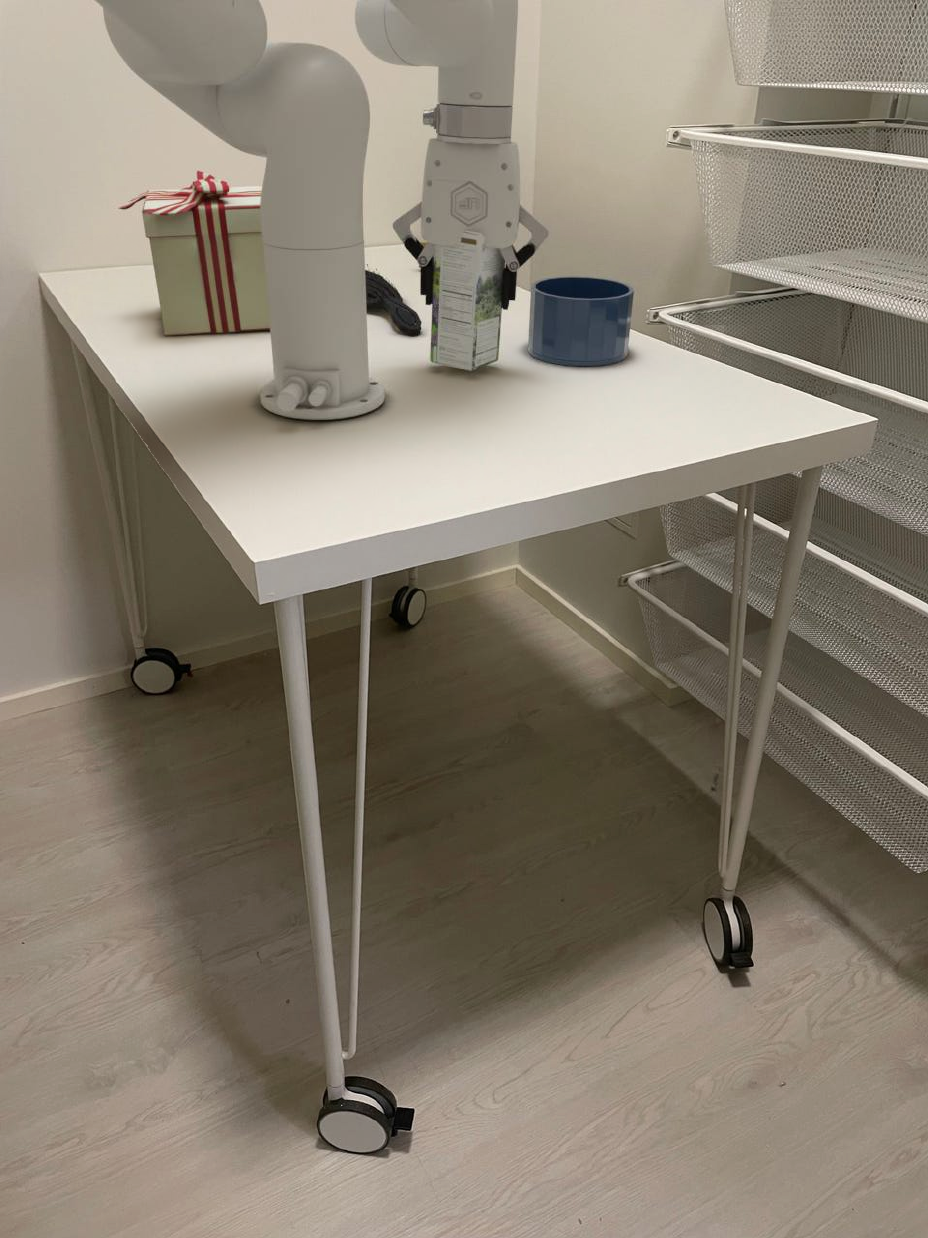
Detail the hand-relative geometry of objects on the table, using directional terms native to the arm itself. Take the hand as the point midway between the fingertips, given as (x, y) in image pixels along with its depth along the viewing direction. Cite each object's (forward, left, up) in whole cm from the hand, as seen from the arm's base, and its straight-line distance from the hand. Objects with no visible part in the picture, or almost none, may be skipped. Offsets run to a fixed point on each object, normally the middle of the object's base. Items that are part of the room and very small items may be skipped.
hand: (467, 303), depth 107 cm
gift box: (+15, +35, -7) cm, 39 cm away
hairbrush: (+24, +13, -7) cm, 28 cm away
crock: (+9, -13, -7) cm, 17 cm away
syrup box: (0, 0, -7) cm, 7 cm away
